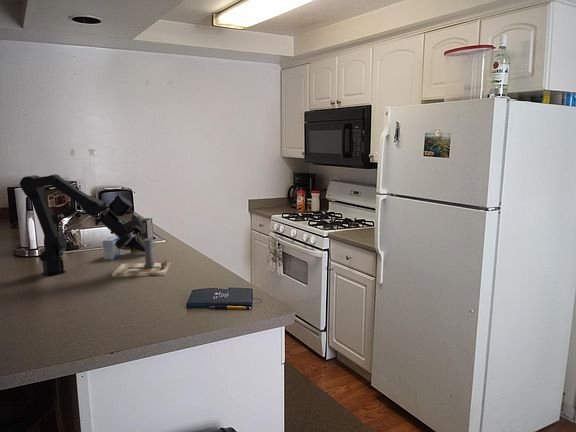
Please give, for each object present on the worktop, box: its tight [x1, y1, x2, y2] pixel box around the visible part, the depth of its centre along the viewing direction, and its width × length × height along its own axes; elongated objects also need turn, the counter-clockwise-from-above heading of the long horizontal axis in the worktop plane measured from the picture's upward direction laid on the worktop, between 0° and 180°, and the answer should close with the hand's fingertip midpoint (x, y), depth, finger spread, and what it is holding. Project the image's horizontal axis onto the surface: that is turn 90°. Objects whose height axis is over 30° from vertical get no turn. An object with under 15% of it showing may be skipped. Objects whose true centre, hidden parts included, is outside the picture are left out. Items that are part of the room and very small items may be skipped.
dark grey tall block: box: [143, 238, 155, 268], centre depth 183 cm, size 3×4×11 cm
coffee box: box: [128, 217, 155, 256], centre depth 212 cm, size 9×6×16 cm
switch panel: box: [111, 259, 172, 278], centre depth 184 cm, size 20×14×4 cm
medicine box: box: [102, 236, 121, 261], centre depth 205 cm, size 8×4×9 cm, turn 179°
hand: (145, 250), depth 183 cm, fingers closed, pressing on dark grey tall block
